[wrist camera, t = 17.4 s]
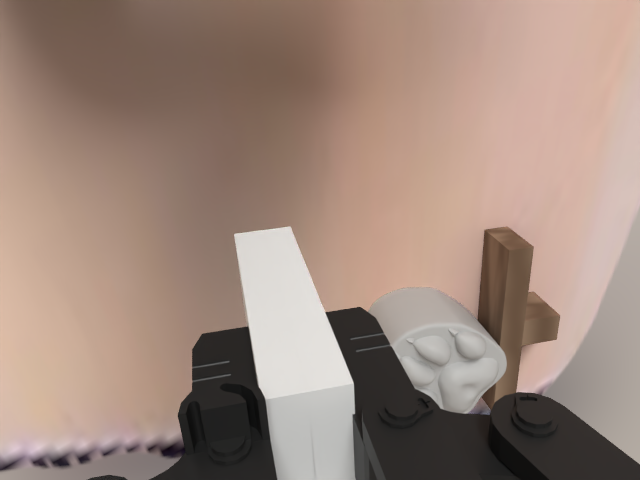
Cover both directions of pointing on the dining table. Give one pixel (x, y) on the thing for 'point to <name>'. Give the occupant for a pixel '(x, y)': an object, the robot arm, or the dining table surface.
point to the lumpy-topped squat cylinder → (440, 346)
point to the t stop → (511, 304)
